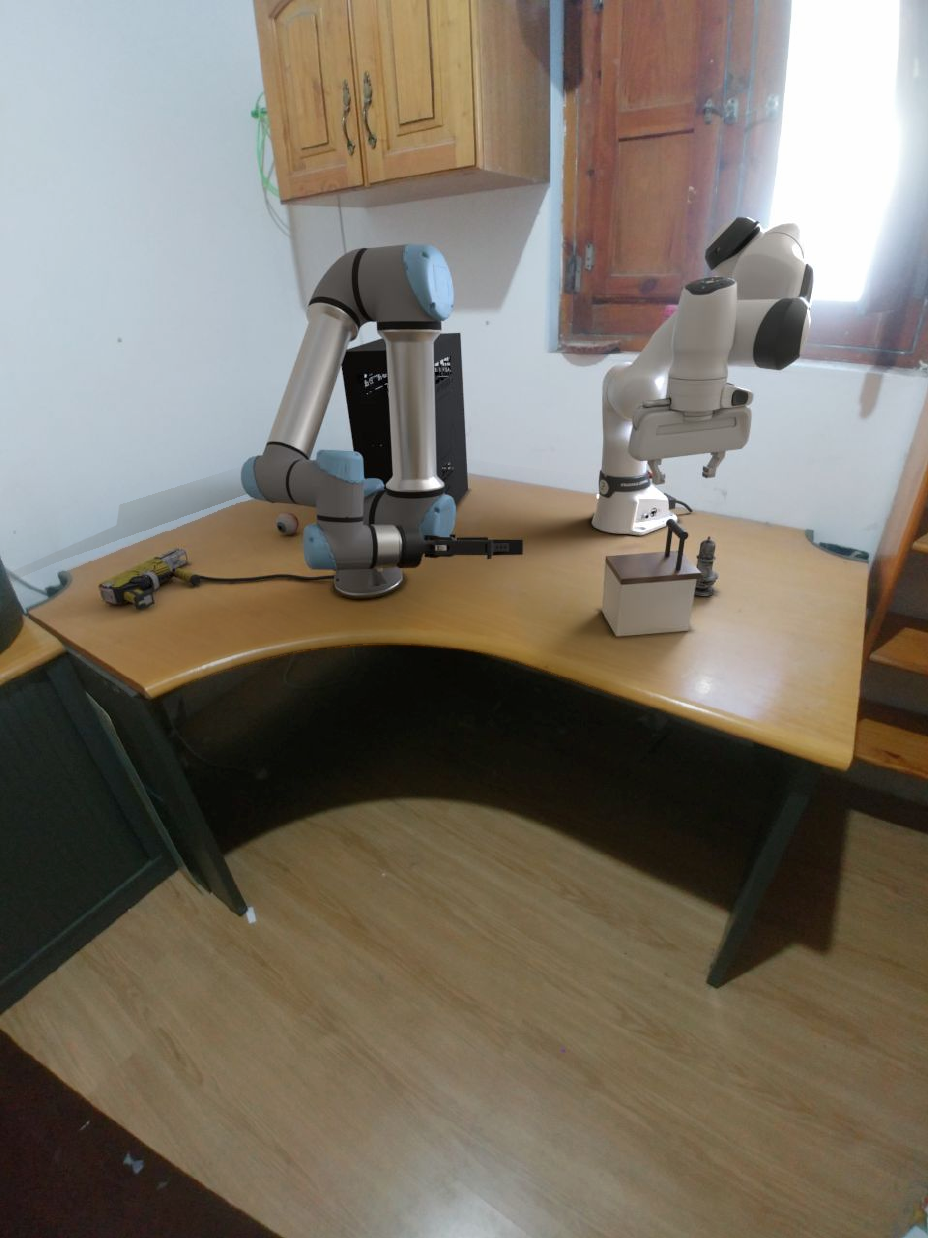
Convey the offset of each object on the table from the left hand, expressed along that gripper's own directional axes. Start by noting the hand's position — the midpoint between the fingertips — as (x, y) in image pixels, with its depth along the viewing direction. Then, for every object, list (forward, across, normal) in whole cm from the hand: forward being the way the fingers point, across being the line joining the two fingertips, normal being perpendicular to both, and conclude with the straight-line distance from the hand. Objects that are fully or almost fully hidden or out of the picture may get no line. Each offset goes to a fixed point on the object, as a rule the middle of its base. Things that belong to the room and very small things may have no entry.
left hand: (503, 545), depth 113 cm
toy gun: (-59, -55, -11) cm, 82 cm away
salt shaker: (+42, +8, -10) cm, 44 cm away
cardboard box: (+9, -69, +8) cm, 70 cm away
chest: (+25, +11, -14) cm, 31 cm away
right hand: (+24, +20, +12) cm, 33 cm away
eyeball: (-29, -71, 0) cm, 76 cm away
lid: (+23, +14, -4) cm, 28 cm away
